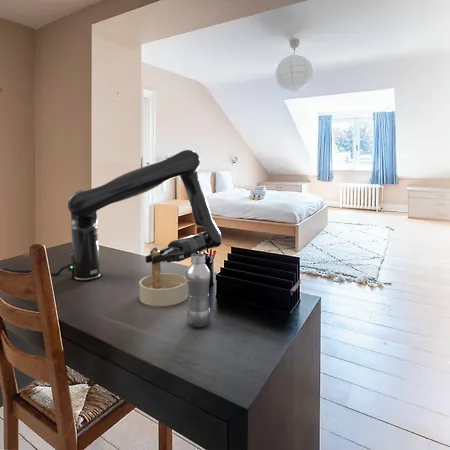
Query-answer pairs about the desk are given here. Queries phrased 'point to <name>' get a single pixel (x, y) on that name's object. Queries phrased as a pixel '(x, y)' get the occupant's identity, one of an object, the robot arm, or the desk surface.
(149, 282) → the bowl
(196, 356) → the desk surface
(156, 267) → the wooden t-shaped block
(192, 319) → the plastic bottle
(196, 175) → the robot arm
